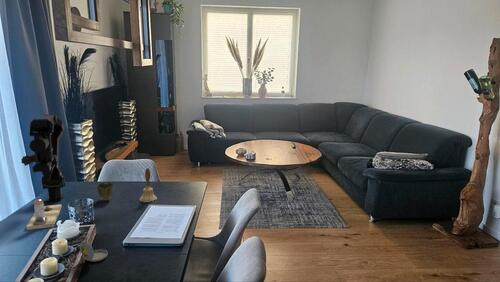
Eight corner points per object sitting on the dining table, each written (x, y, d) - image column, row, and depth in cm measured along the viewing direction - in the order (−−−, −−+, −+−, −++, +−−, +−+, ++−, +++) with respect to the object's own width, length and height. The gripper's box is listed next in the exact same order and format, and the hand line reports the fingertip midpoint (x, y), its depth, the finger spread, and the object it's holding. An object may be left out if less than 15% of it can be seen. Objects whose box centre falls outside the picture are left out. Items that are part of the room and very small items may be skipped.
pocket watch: (110, 252, 116) (109, 225, 114) (101, 266, 108) (99, 238, 106) (87, 251, 116) (85, 225, 113) (75, 265, 107) (72, 237, 105)
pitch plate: (38, 209, 148) (38, 203, 147) (61, 207, 151) (61, 201, 150) (26, 229, 130) (26, 222, 129) (53, 226, 133) (52, 219, 132)
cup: (96, 203, 156) (95, 187, 155) (98, 197, 163) (97, 182, 162) (113, 202, 158) (112, 186, 157) (114, 196, 165) (114, 181, 164)
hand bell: (158, 195, 168) (157, 165, 165) (155, 202, 160) (154, 170, 157) (141, 196, 167) (139, 165, 164) (137, 202, 159) (136, 170, 156)
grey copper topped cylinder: (36, 220, 134) (33, 198, 132) (47, 219, 135) (45, 197, 133) (33, 225, 130) (31, 201, 128) (45, 223, 131) (42, 200, 129)
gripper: (28, 143, 149) (31, 176, 152) (15, 153, 132) (20, 190, 135) (56, 142, 153) (59, 174, 156) (47, 151, 136) (51, 187, 139)
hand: (47, 181), depth 147 cm, fingers closed
